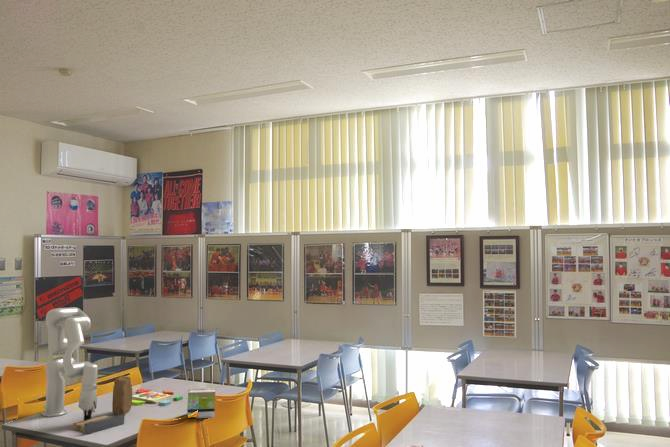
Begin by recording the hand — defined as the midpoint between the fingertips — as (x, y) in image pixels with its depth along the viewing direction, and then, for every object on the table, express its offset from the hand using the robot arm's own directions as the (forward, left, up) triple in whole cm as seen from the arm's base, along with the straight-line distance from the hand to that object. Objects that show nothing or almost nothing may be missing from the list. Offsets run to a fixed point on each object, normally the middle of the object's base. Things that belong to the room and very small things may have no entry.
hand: (87, 421), depth 292 cm
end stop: (+15, 0, -1) cm, 15 cm away
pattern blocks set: (-14, +54, -2) cm, 56 cm away
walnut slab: (+8, 0, -1) cm, 8 cm away
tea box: (+39, +45, -1) cm, 60 cm away
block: (-3, +24, -1) cm, 24 cm away
